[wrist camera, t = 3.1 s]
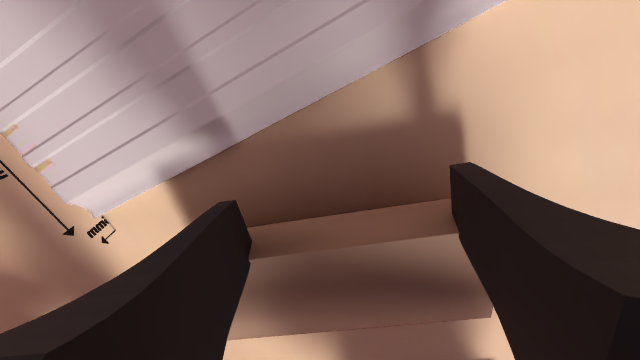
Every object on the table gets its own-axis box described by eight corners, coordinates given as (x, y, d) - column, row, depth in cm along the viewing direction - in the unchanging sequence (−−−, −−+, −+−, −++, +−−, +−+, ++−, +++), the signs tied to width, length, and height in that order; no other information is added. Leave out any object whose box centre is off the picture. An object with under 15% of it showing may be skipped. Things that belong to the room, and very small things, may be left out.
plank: (478, 285, 15) (490, 317, 14) (231, 310, 17) (225, 340, 16) (492, 192, 11) (510, 226, 10) (171, 238, 13) (157, 271, 12)
